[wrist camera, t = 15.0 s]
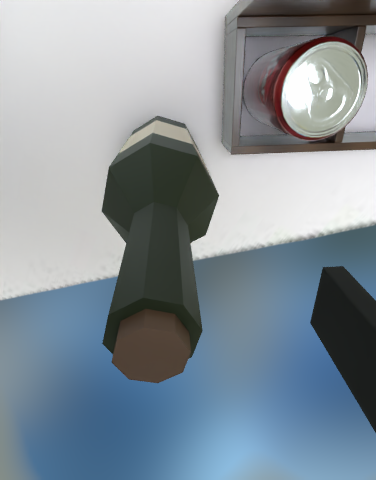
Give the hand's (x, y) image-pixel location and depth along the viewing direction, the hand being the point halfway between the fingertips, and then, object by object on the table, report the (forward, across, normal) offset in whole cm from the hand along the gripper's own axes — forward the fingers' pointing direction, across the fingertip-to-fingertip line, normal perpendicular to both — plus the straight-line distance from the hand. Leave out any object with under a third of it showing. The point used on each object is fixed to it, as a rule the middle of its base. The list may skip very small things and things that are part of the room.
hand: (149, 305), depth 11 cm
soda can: (+28, +13, +6) cm, 31 cm away
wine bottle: (+28, 0, 0) cm, 28 cm away
